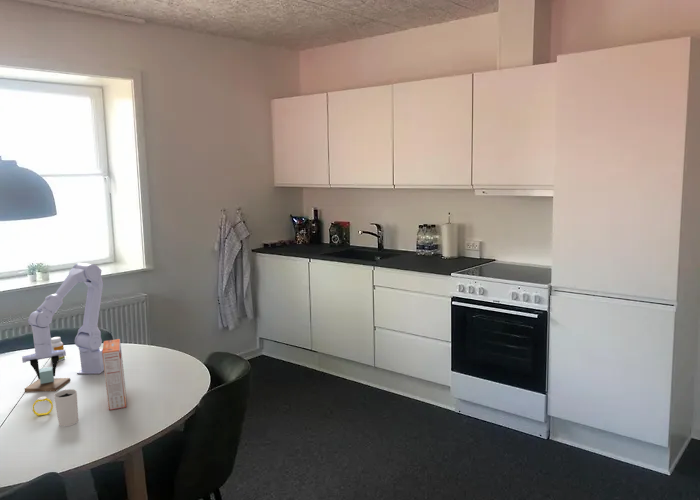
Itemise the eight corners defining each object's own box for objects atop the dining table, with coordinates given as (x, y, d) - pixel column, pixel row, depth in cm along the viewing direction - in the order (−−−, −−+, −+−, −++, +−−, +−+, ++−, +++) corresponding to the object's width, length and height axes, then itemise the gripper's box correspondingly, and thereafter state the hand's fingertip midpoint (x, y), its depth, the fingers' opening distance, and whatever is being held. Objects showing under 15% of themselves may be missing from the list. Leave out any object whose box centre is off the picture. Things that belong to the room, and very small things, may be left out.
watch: (33, 418, 195) (31, 401, 194) (33, 415, 197) (31, 398, 196) (53, 414, 197) (51, 397, 196) (53, 411, 200) (51, 394, 199)
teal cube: (53, 377, 225) (52, 366, 224) (54, 381, 221) (52, 370, 220) (40, 380, 223) (39, 368, 222) (40, 384, 219) (39, 372, 218)
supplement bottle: (67, 357, 255) (64, 336, 254) (60, 361, 250) (57, 339, 248) (55, 357, 256) (53, 336, 254) (48, 361, 250) (45, 340, 249)
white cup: (54, 422, 191) (50, 393, 189) (75, 416, 195) (72, 387, 194) (61, 429, 186) (58, 399, 184) (83, 422, 190) (79, 393, 189)
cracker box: (108, 396, 211) (102, 340, 208) (126, 393, 213) (121, 338, 210) (107, 411, 198) (101, 352, 195) (126, 408, 200) (120, 349, 197)
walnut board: (70, 381, 227) (69, 378, 227) (56, 391, 217) (55, 388, 217) (40, 381, 228) (40, 378, 228) (24, 391, 218) (24, 388, 218)
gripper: (63, 336, 226) (67, 369, 229) (21, 342, 220) (25, 377, 222) (64, 341, 220) (68, 375, 222) (20, 348, 214) (24, 383, 216)
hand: (46, 376), depth 222 cm, fingers closed on teal cube, 4 cm apart
